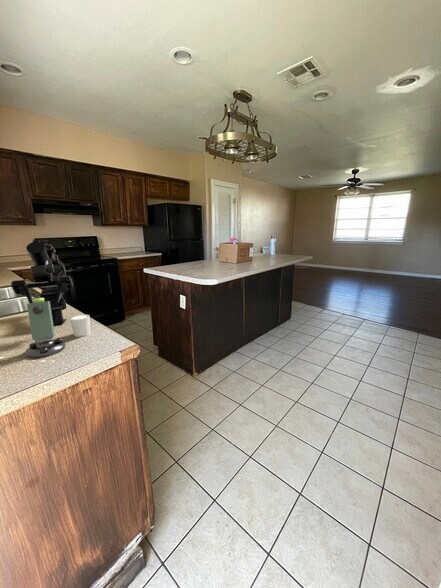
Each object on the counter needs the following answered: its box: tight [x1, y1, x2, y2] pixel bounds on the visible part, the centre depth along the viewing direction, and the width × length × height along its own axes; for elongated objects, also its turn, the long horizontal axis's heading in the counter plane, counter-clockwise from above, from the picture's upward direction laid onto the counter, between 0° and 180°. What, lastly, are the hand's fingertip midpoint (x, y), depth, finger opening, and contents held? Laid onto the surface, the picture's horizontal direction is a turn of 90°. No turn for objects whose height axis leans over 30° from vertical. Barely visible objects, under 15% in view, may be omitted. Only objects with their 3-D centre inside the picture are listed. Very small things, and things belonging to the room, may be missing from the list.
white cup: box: [69, 314, 91, 338], centre depth 96 cm, size 7×7×7 cm
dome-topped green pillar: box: [26, 297, 56, 344], centre depth 82 cm, size 6×6×15 cm
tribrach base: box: [25, 337, 66, 359], centre depth 84 cm, size 11×11×3 cm
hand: (44, 303), depth 92 cm, fingers open, 8 cm apart
